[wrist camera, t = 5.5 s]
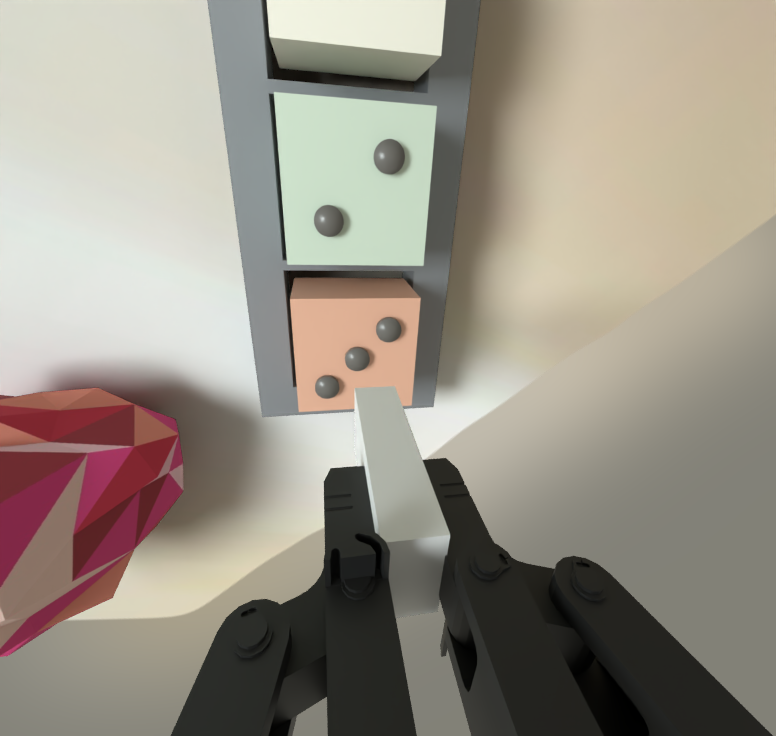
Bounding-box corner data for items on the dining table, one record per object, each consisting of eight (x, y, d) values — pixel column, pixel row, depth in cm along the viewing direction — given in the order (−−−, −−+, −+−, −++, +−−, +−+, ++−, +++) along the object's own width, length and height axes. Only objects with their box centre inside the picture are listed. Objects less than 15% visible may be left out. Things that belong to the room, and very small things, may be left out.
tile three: (301, 375, 23) (298, 415, 19) (294, 277, 20) (289, 301, 16) (397, 371, 24) (412, 408, 20) (403, 277, 21) (422, 299, 17)
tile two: (292, 249, 19) (286, 266, 16) (282, 110, 17) (272, 89, 13) (404, 250, 20) (425, 267, 17) (412, 120, 18) (439, 104, 14)
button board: (267, 392, 26) (262, 417, 23) (196, -207, 14) (168, -297, 11) (422, 384, 27) (433, 406, 25) (473, -148, 16) (505, -213, 13)
